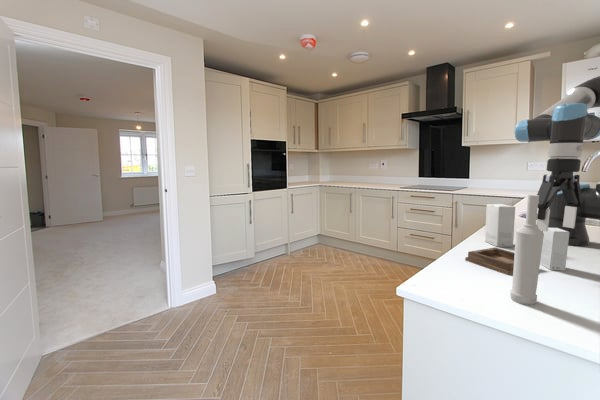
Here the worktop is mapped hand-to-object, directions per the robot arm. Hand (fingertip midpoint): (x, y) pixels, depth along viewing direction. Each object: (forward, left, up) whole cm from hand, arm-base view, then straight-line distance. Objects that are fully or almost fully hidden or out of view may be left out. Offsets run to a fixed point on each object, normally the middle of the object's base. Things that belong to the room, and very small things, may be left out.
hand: (555, 229), depth 94 cm
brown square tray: (+12, -8, -12) cm, 19 cm away
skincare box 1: (-10, -24, -12) cm, 29 cm away
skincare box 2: (0, 0, -12) cm, 12 cm away
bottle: (+32, +11, -12) cm, 36 cm away
